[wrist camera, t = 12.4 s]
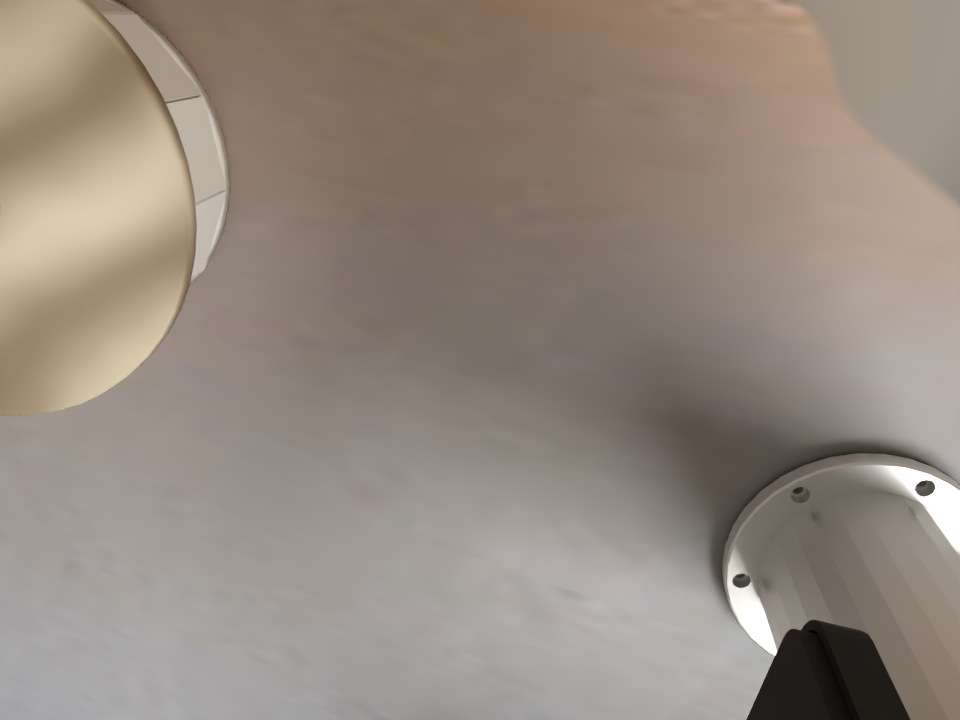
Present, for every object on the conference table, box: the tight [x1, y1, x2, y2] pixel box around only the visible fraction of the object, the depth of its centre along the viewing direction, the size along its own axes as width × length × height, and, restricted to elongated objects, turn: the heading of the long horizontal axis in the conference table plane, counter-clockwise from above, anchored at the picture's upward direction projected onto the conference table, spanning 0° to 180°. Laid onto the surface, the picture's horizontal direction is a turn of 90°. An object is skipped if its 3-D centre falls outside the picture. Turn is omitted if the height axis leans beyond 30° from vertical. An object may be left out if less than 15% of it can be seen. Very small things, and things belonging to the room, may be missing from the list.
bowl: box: [89, 0, 230, 283], centre depth 34 cm, size 15×15×7 cm
